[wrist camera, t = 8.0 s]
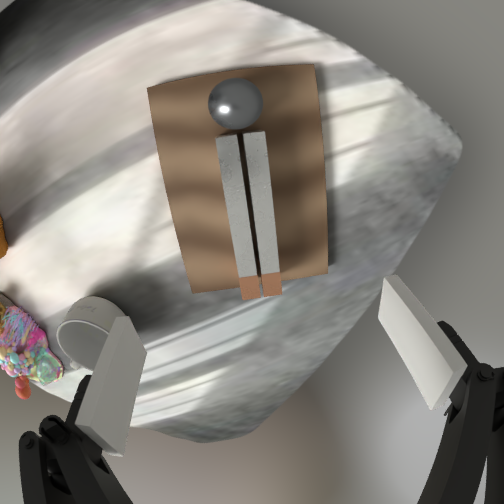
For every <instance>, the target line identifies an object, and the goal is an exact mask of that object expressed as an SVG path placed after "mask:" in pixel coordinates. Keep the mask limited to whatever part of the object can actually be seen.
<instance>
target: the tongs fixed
mask: <svg viewBox="0 0 504 504" xmlns="http://www.w3.org/2000/svg"><path fill="white" fill-rule="evenodd" d="M208 109H209V113H210V115H211V117H212V118H213V120H214V121H215V122H216V123H218V124H219V125H221V126H222V127H225V128H228V129H243V128H246V127H248V126H250V125H251V124H253V123H254V122H255V121H256V120H257V119H258V118H259V116H260V114H261V112H262V109H263V98H262V94H261V92H260V90H259V89H258V88H257V87H256V86H255V85H254V84H253V83H252V82H250V81H248V80H246V79H242V78H230V79H226V80H224V81H222V82H220V83H219V84H217V85H216V86H215V87H214V88H213V90H212V91H211V93H210V95H209V99H208ZM215 140H216V147H217V153H218V159H219V165H220V171H221V177H222V183H223V189H224V195H225V201H226V207H227V213H228V218H229V224H230V230H231V236H232V241H233V247H234V253H235V258H236V264H237V269H238V276H239V283H240V288H241V294H242V299H243V300H246V299H253V298H260V297H261V295H260V288H259V281H258V274H257V268H256V262H255V257H254V250H253V243H252V236H251V229H250V222H249V215H248V208H247V201H246V195H245V188H244V181H243V174H242V167H241V160H240V153H239V146H238V140H237V134H236V133H231V134H225V135H219V136H217V137H216V138H215Z"/></svg>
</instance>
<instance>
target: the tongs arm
mask: <svg viewBox="0 0 504 504" xmlns="http://www.w3.org/2000/svg"><path fill="white" fill-rule="evenodd" d="M242 137H243V145H244V152H245V159H246V167H247V174H248V182H249V189H250V197H251V204H252V212H253V219H254V227H255V234H256V242H257V250H258V261H259V268H260V276H261V282H262V288H263V294H264V297H267V296H274V295H280V294H282V287H281V275H280V269H279V259H278V248H277V237H276V227H275V217H274V208H273V198H272V189H271V180H270V171H269V162H268V154H267V145H266V137H265V131H263V130H253V131H245V132H242Z"/></svg>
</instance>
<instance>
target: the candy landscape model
mask: <svg viewBox="0 0 504 504" xmlns="http://www.w3.org/2000/svg"><path fill="white" fill-rule="evenodd" d="M21 307H22V306H21ZM21 307H20V308H21ZM20 308H18V307H16V306H14V304H13V303H12V302H11V301H10V300H9V299H8V298H6V297H5V296H3V295H2V294H1V295H0V364H1V365H2V366H1V367H2V369H3V370H6V372H7V373H8V374H9V375H10V376H11V377H16V376H17V375H19V376H20V377H17V378H16V379H15V384H16V389H15V390H16V393H17V395H18V396H19V397H20V398H21V399H28V398H29V397H30V395H31V389H30V387H29V384H28V383H29V380H28V377H29V378H30V379H33V380H35V381H40V382H41V384H42V385H43V384H45V385H47V384H49V383H51V382H53V381H54V382H55V381H56V382H57V380H59V379H61V378H62V374H63V365H62V363H61V362H60V360H59V359H58V358H57V357H56V356H55V355H54V354H53V353H52V352H51V351H50V349H49V348H48V341H47V336H46V334H45V332H44V331H42V329H40V328H39V327H38V326H39V325H38V326H36V324H35V323H34V322H35V320H34V321H32V319H33V317H32V318H31V316H30V317H29V315H28V313H29V312H28V313H25V312H22V311H23V310H22V311H21V310H20ZM27 315H28V316H27ZM28 317H29V318H28Z"/></svg>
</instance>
